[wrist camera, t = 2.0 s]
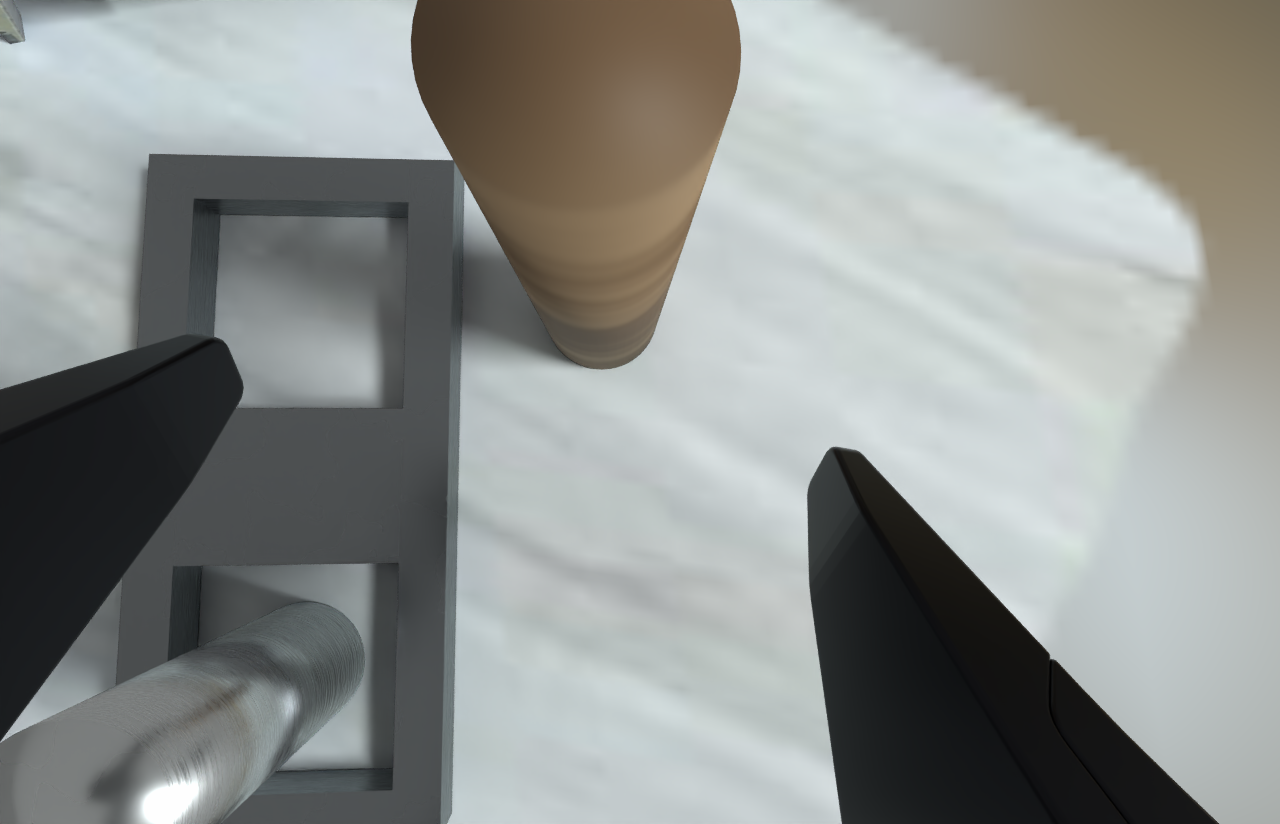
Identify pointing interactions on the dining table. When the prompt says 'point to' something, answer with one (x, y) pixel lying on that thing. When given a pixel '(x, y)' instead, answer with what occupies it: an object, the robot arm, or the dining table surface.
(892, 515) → the robot arm
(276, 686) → the steel pin
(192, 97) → the dining table surface
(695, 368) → the dining table surface
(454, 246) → the plate
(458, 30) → the walnut pin
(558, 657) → the dining table surface
